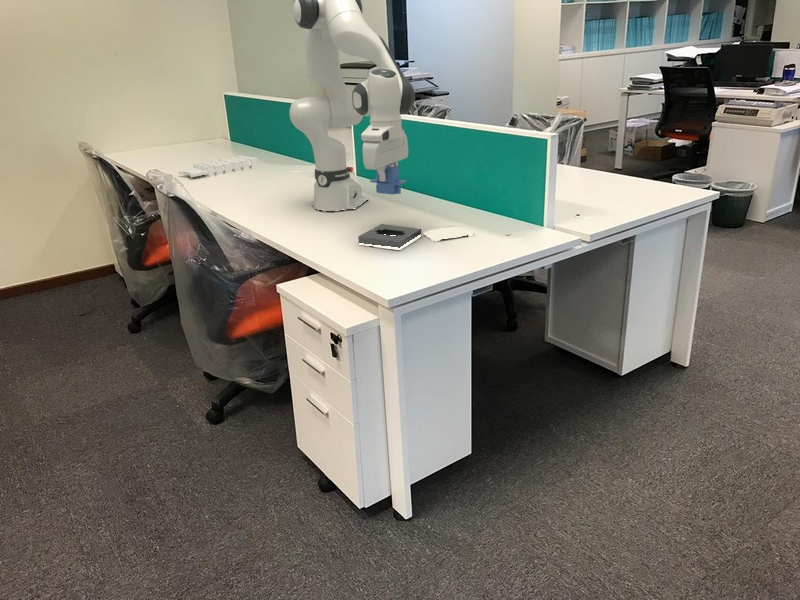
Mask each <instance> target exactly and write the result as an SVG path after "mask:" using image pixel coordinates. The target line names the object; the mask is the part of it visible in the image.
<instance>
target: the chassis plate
mask: <svg viewBox="0 0 800 600" xmlns="http://www.w3.org/2000/svg"><path fill="white" fill-rule="evenodd" d="M384 234H386V235H384ZM420 234H421V235H422V229H421V228H415V227H409V226H401V225H392V224H387V223H381V224H379V225H377V226H375V227H373V228H371V229H369V230H368V231H366V232H364V233H362V234H360V235H358V239H357V240H358V244H359V243H364V244H372V245H381V246H391V247H398V248H400V247H401V246H403V245H404V244H406V243H407V242H409V241H410V240H412V239H414V238H415V237H417V236H418V235H420ZM390 235H396V236H390Z"/></svg>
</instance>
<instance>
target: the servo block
mask: <svg viewBox="0 0 800 600" xmlns="http://www.w3.org/2000/svg"><path fill="white" fill-rule="evenodd" d="M375 172H376V177H375V178H372V179H370V180H369V181H370V183H372V184H373V183H376V185H375V188H376V189H375V190H376V192H377V194H384V195H393V196H394V195H400V194H401V193H402V191H401V190H402V187H401V185H403V184H406V183H407V180H406V179H404V180H403V179H400V166H399V165H398V166H394V164H389V165H386V166H385V173H386V175H387V181H384V182H382V181H380V176H379V174H378V171H377V169H376V170H375Z"/></svg>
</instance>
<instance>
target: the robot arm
mask: <svg viewBox="0 0 800 600" xmlns="http://www.w3.org/2000/svg"><path fill="white" fill-rule="evenodd" d="M292 9H293V12H292V13H293V15H294V16H293V17H294V20H295V23H296V24H297V25H298V26H299V27H300V28H301V29H305V34H304V35H305V37H304V38H305V41H304V42H305V47H304V48H305V58H306V59H305V61H306V70H307V76H308V78H309V80H310V81H311V82H313V83H315V84H316V85H318V86H320V87H322V88H324V90H325V92H326V95H318V96H305V97H302V98H298V99H295V100H293V101H292V103H291V105H290V108H289V119H290V121H291V123H292V124H293V126H294V127H295V129H297V130H299V131H300V132H302V133H303V134H304V135H305V137H307V139H308V140H309V142H310V144H311V146H312V151H313V156H314V165H315V167H314V173H313V174H314V179H315V182H314V183H313V184H314V185H313V201H311V202H312V204H311V206H313V207H314V210H316V209H317V210H316V211H319V210H322V211H321V212H326V211H335V212H338V211H337V210H342V209H353V208H356V207H358V206H359V205H360V204H361V203H363V202H364V201H366V200H367V199H369V197H368V196H365V195H363V192H362V187H361V185H360V184H359V183H358V182H357V181H355V180H354V179H353V178H352V177H351V174H350V173H353V172H354V167H353V166H347V153H346V148H345V145H344V144H343V142H341V141H340V140H338V139H336V138H334V137H332V136H330V135H329V131H328V130H330V129H341V128H343V129H344V128H349V127H353V126H355V125H359V124H360V123H361V122H362V120H363V117H370V118H369V125H368V126H367V127H366V128H365V130H364V131H362V133H361V138H360V139H361V141H363V144H362V161H363V162H362V163H363V165H364V166H363V167H364V168H365V169H366V170H373V171H376V169H377V171H378V174H379V176H380V181H382V182H384V181H387V175H386V173H385V166H386V165H387V166H389V164H394V166H399V162H400V161H402V160H404V159H407V158H408V156H409V144H408V143H409V141H408V137H407V134H406V133H405V130H404V128H403V126H402V116H401V115H406V114H407V113H409V112H410V110H411V109H412V108H413V107H414V105H415V101H416V92H415V90H414V89H415V88H414V87H413V85H412V84H411V83H410V81H409V80H408V79H407V77H406V76H405V75H404V73H403V71H402V70H401V68H400V66H399V64H398V63H397V60H396V59H395V57H394V56H393V53H392V51H391V50H390V48H389V47H388V45H387V43H386V41H385V40H384V38H383V37H381V36H380V35H379V34H377V33H376V32H374V30H372V29H371V28H370V26H369V24H367V22H366V20H365V18H364V16H363V4H362V1H361V0H293V8H292ZM340 51H341V52H342V53H344V54H345V55H348V56H352V57H353V56H354V57H356V58H357V57H358V58H360V59H361V58H362V59H365V60H366V61H367V60H368V61H370V62H371V63H373V64H374V65H376V66H377V68H378V69H373V70H371V72H369V76H368V77H367V78H366V79H365V80H364V81H361V82H358V83H357V84H356V85H355V86H354V87H353V90H352V91H351V90H350V89H349V88H348V86H347V85H346V83H345V81H344V79H343V75H342V70H341V62H340ZM358 208H359V207H358Z"/></svg>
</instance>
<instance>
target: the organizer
mask: <svg viewBox="0 0 800 600" xmlns="http://www.w3.org/2000/svg"><path fill="white" fill-rule="evenodd" d="M192 167H193V168H189V169H183V170H179V171H178V174H179V175H185V176H189V178H194V177H199V176H202V175H204V176H203V177H206V176H208V177H207V178H212V177H211V176H213V177H215V176H216V175H218V176H221V175H220V174H223V175H224V173H228V174H231V173H230V172H232V171H238V172H240V171H239V170H241V169H243V170H241V171H246V170H245V169H248V170H250V169H251V168H253V169H257V168H256V167H258V168H259V162H258V157H252V156H246V155H237V156H231V157H226V158H220V159H218V160H217V159H214V160H209V161H204V162H203V161H202V162H198V163H193V164H192ZM214 174H215V175H214Z"/></svg>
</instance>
